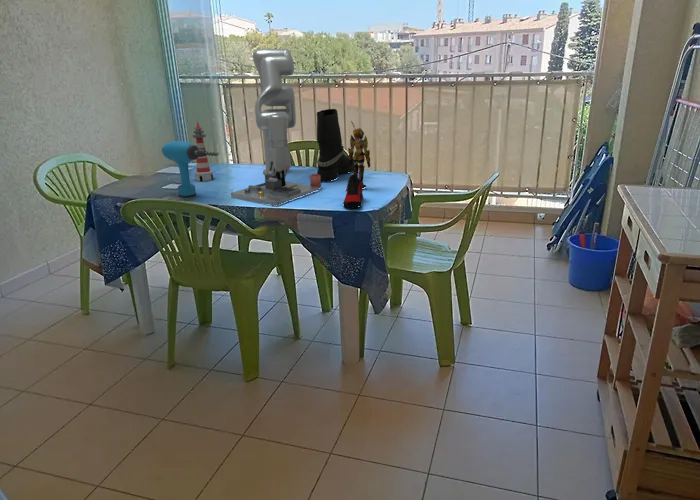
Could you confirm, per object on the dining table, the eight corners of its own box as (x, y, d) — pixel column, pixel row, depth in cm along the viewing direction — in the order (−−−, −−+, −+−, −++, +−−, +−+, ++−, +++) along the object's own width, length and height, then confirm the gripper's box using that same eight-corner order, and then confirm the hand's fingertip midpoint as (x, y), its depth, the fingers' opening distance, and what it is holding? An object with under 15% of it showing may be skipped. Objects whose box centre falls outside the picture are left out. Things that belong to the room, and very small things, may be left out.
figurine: (373, 188, 229) (373, 119, 218) (366, 192, 223) (366, 122, 212) (352, 185, 234) (351, 118, 223) (345, 189, 228) (343, 120, 217)
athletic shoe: (341, 211, 198) (340, 181, 193) (345, 197, 217) (345, 169, 212) (361, 211, 197) (360, 181, 193) (363, 197, 216) (363, 169, 212)
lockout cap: (315, 186, 234) (314, 172, 231) (322, 188, 231) (322, 173, 229) (308, 189, 230) (307, 174, 228) (316, 190, 228) (315, 175, 225)
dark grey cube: (273, 182, 234) (272, 170, 233) (281, 183, 232) (280, 172, 230) (265, 184, 231) (264, 173, 229) (273, 185, 228) (272, 174, 226)
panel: (276, 183, 240) (275, 176, 239) (319, 191, 226) (319, 183, 225) (231, 197, 219) (230, 189, 218) (275, 206, 205) (275, 198, 203)
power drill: (229, 196, 220) (223, 142, 212) (216, 201, 213) (210, 145, 204) (176, 191, 230) (169, 139, 222) (163, 196, 223) (155, 142, 214)
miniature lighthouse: (217, 177, 255) (210, 115, 244) (210, 181, 246) (203, 117, 235) (199, 177, 256) (191, 115, 245) (192, 181, 247) (183, 118, 236)
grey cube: (273, 188, 224) (272, 176, 222) (282, 189, 221) (281, 177, 219) (265, 190, 220) (264, 178, 218) (274, 192, 217) (273, 180, 216)
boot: (360, 170, 267) (362, 105, 255) (330, 185, 238) (331, 112, 225) (339, 167, 272) (340, 103, 259) (307, 181, 242) (307, 110, 230)
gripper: (284, 140, 225) (286, 181, 232) (260, 145, 214) (263, 188, 220) (297, 142, 221) (299, 183, 228) (273, 147, 210) (276, 190, 216)
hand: (281, 185), depth 224 cm, fingers closed
